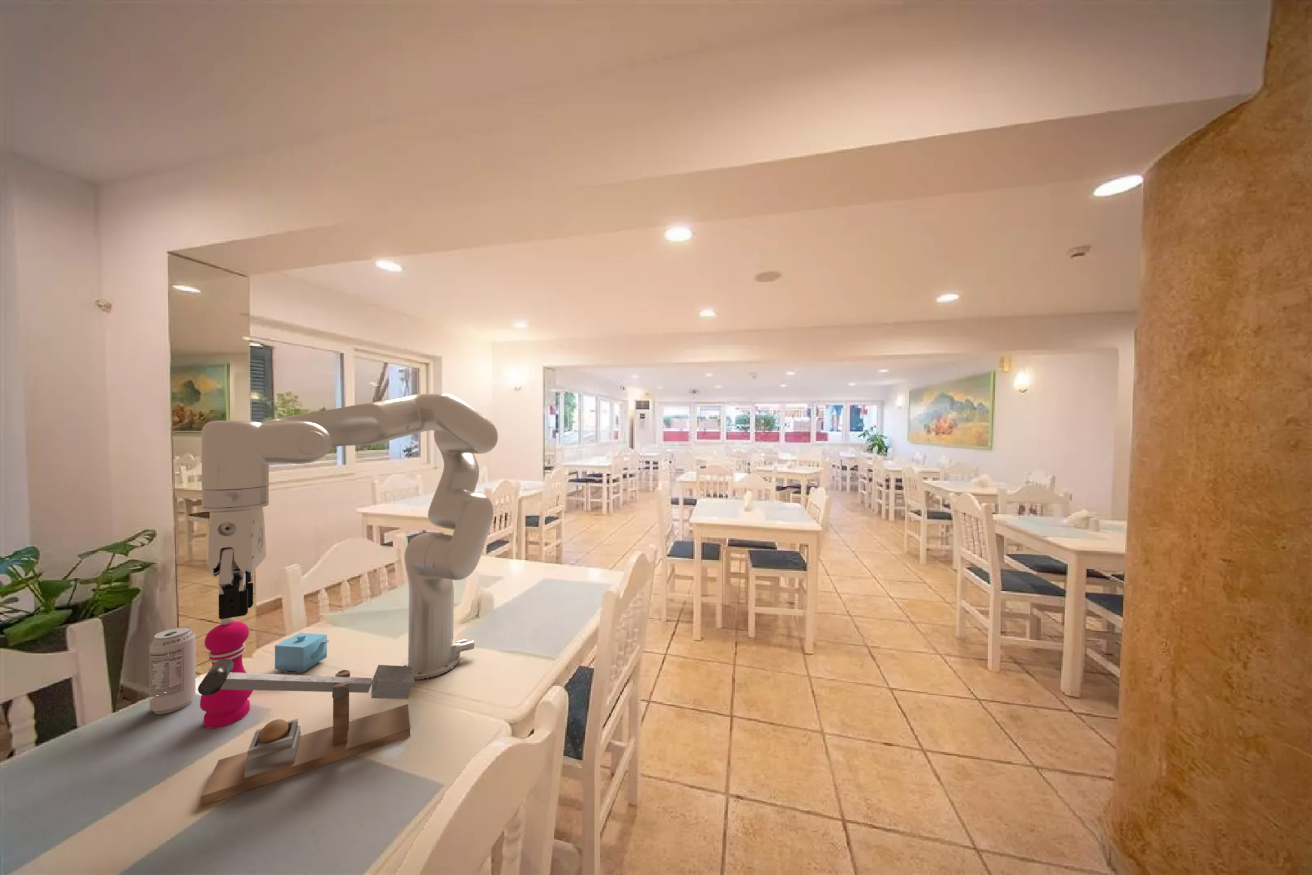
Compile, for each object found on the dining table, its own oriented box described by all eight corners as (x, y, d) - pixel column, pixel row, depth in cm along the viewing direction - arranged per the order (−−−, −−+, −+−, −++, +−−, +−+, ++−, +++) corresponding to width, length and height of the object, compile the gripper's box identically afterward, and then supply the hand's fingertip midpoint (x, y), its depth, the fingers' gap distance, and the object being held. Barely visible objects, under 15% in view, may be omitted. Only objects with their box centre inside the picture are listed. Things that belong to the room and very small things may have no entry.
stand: (408, 711, 84) (408, 651, 84) (410, 736, 77) (410, 671, 77) (218, 768, 69) (218, 696, 69) (201, 805, 63) (200, 726, 62)
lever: (406, 682, 83) (412, 666, 83) (407, 699, 78) (414, 682, 78) (208, 675, 67) (217, 655, 68) (194, 695, 62) (204, 674, 63)
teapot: (339, 661, 101) (339, 630, 101) (317, 676, 95) (317, 643, 95) (294, 658, 102) (294, 627, 102) (268, 672, 96) (268, 640, 96)
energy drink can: (204, 695, 88) (204, 624, 87) (176, 714, 82) (175, 638, 81) (170, 697, 87) (170, 625, 86) (139, 717, 81) (139, 640, 80)
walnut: (290, 731, 72) (290, 711, 72) (286, 745, 69) (286, 724, 69) (262, 740, 70) (262, 719, 70) (256, 754, 67) (256, 732, 67)
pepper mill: (218, 733, 77) (218, 626, 76) (189, 727, 78) (188, 621, 78) (263, 707, 84) (263, 609, 84) (235, 702, 85) (234, 605, 85)
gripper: (255, 504, 62) (255, 627, 62) (278, 489, 75) (278, 591, 76) (181, 509, 58) (182, 641, 58) (219, 492, 71) (219, 599, 72)
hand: (236, 611), depth 67 cm, fingers open, 2 cm apart
